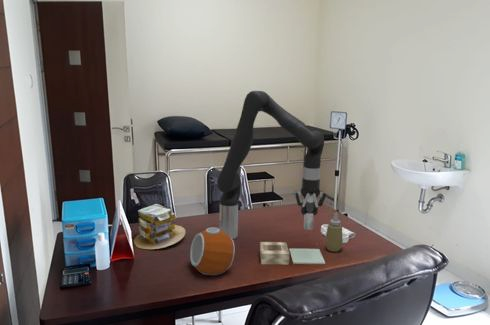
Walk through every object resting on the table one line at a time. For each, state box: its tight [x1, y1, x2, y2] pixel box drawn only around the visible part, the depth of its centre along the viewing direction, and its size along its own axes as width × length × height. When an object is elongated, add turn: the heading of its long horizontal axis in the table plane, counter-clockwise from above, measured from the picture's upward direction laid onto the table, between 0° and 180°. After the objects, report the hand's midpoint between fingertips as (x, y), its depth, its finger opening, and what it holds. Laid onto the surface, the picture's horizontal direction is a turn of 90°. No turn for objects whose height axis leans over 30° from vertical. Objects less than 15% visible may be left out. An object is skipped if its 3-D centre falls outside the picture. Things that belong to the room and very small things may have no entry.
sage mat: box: [288, 247, 326, 265], centre depth 179 cm, size 14×14×1 cm
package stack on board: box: [133, 203, 187, 250], centre depth 192 cm, size 25×25×17 cm
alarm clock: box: [189, 226, 236, 276], centre depth 165 cm, size 19×18×17 cm
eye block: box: [259, 241, 290, 266], centre depth 176 cm, size 12×12×5 cm
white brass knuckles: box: [320, 224, 356, 244], centre depth 203 cm, size 3×18×15 cm
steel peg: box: [303, 194, 315, 231], centre depth 174 cm, size 4×4×16 cm
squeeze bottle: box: [324, 212, 344, 253], centre depth 185 cm, size 8×8×18 cm
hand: (309, 214), depth 175 cm, fingers closed on steel peg, 4 cm apart
